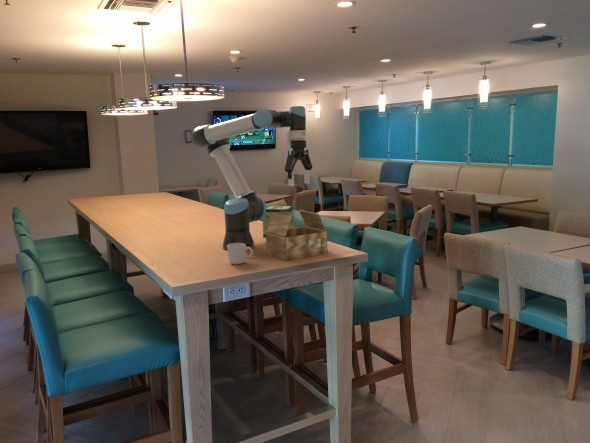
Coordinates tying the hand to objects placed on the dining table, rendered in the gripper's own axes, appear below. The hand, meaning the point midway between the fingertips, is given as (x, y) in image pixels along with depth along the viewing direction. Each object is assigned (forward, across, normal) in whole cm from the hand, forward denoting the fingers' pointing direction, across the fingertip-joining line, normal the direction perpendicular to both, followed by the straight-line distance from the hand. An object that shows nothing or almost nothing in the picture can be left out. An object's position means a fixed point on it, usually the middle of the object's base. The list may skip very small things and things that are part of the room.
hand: (299, 184), depth 229 cm
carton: (+30, -15, -8) cm, 34 cm away
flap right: (+20, -5, -12) cm, 24 cm away
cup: (+30, -40, +4) cm, 51 cm away
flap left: (+20, -25, -3) cm, 32 cm away
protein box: (+30, +15, +24) cm, 42 cm away
